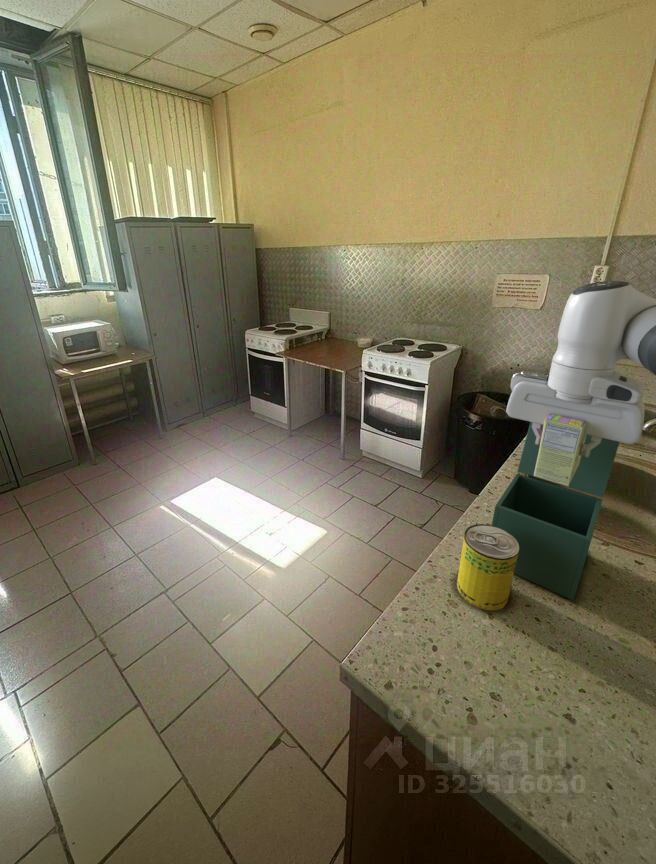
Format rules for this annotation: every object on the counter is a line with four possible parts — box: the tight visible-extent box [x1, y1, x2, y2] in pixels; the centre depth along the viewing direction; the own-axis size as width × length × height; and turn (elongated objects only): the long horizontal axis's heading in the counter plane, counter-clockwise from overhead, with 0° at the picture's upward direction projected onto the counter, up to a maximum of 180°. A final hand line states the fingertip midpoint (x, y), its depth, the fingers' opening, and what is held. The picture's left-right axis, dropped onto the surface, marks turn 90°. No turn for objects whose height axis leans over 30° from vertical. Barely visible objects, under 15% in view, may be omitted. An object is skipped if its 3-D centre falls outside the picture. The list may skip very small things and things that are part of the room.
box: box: [533, 414, 586, 487], centre depth 73 cm, size 10×6×12 cm, turn 137°
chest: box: [491, 472, 603, 601], centre depth 81 cm, size 16×16×14 cm
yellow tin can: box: [456, 523, 519, 611], centre depth 73 cm, size 9×9×12 cm
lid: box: [516, 421, 620, 498], centre depth 83 cm, size 17×16×1 cm
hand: (561, 449), depth 73 cm, fingers closed on box, 5 cm apart
